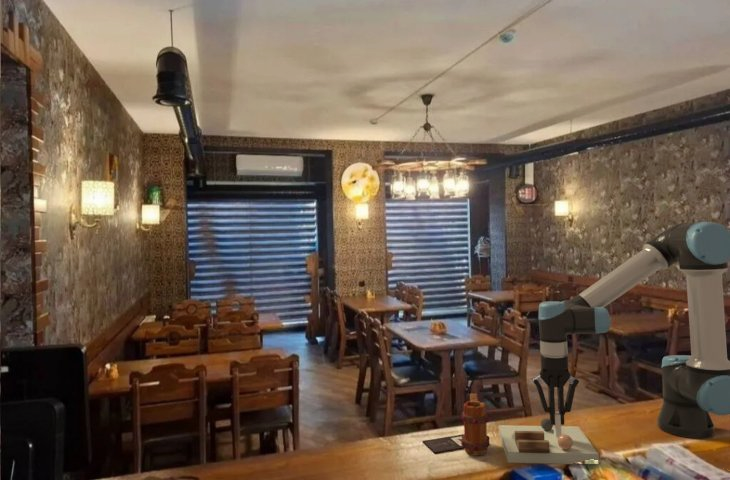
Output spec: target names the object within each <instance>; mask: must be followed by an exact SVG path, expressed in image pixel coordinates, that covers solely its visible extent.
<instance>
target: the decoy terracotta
mask: <svg viewBox="0 0 730 480" xmlns="http://www.w3.org/2000/svg"><path fill="white" fill-rule="evenodd" d="M558 445H559V446H560V448H562V449H564V450H569V449H570V448H571V447H572V446H573V440H572V438H571V437H570V436H568V435H566V434H563V435H560V436H559V437H558Z"/></svg>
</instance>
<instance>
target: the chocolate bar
mask: <svg viewBox="0 0 730 480" xmlns="http://www.w3.org/2000/svg"><path fill="white" fill-rule="evenodd" d="M462 435H464V433H463V434H457V435H450V436H444V437H439V438H433V439H431V438H430V439H425V440H422V442H421V443H422V445H425V446H426V448H428V449H429V450H430V451H431V453H433V454H434V455H438V454H443V453H449V452H455V451H462V450H465V447H464V446H462V444H461V442H462Z"/></svg>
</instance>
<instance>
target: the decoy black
mask: <svg viewBox="0 0 730 480" xmlns="http://www.w3.org/2000/svg"><path fill="white" fill-rule="evenodd" d="M540 426H541V427H542V428H543V429H544V430H547V431H548V430H551V429H552V427H553V426H554V425H552V424H551V423H550V418H547V417H545V418H542V420H541V421H540Z"/></svg>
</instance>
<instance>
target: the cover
mask: <svg viewBox="0 0 730 480" xmlns="http://www.w3.org/2000/svg"><path fill="white" fill-rule="evenodd" d="M514 432H515V443H516V445H517V448H518V451H519V453H550V448H549V441H548V440H544V432H543V431H514Z"/></svg>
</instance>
